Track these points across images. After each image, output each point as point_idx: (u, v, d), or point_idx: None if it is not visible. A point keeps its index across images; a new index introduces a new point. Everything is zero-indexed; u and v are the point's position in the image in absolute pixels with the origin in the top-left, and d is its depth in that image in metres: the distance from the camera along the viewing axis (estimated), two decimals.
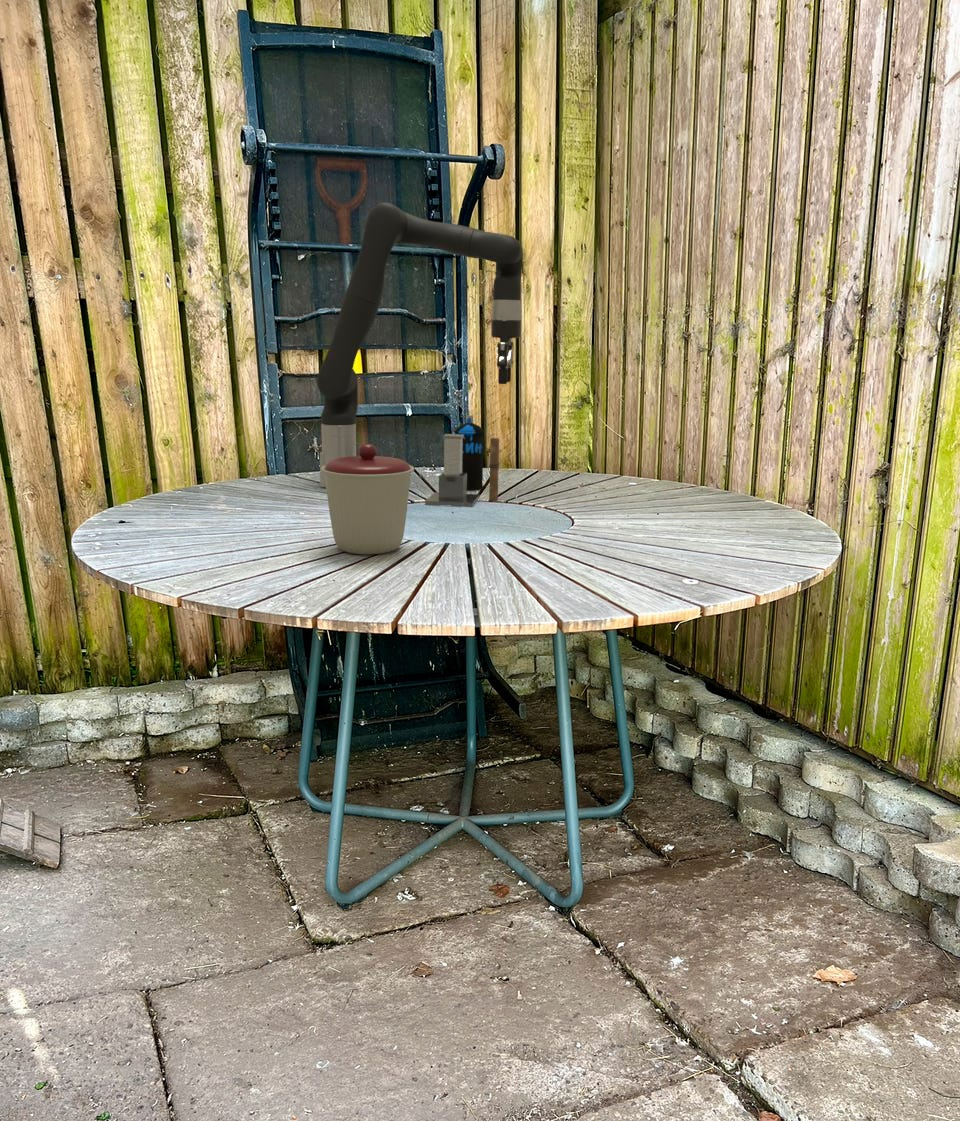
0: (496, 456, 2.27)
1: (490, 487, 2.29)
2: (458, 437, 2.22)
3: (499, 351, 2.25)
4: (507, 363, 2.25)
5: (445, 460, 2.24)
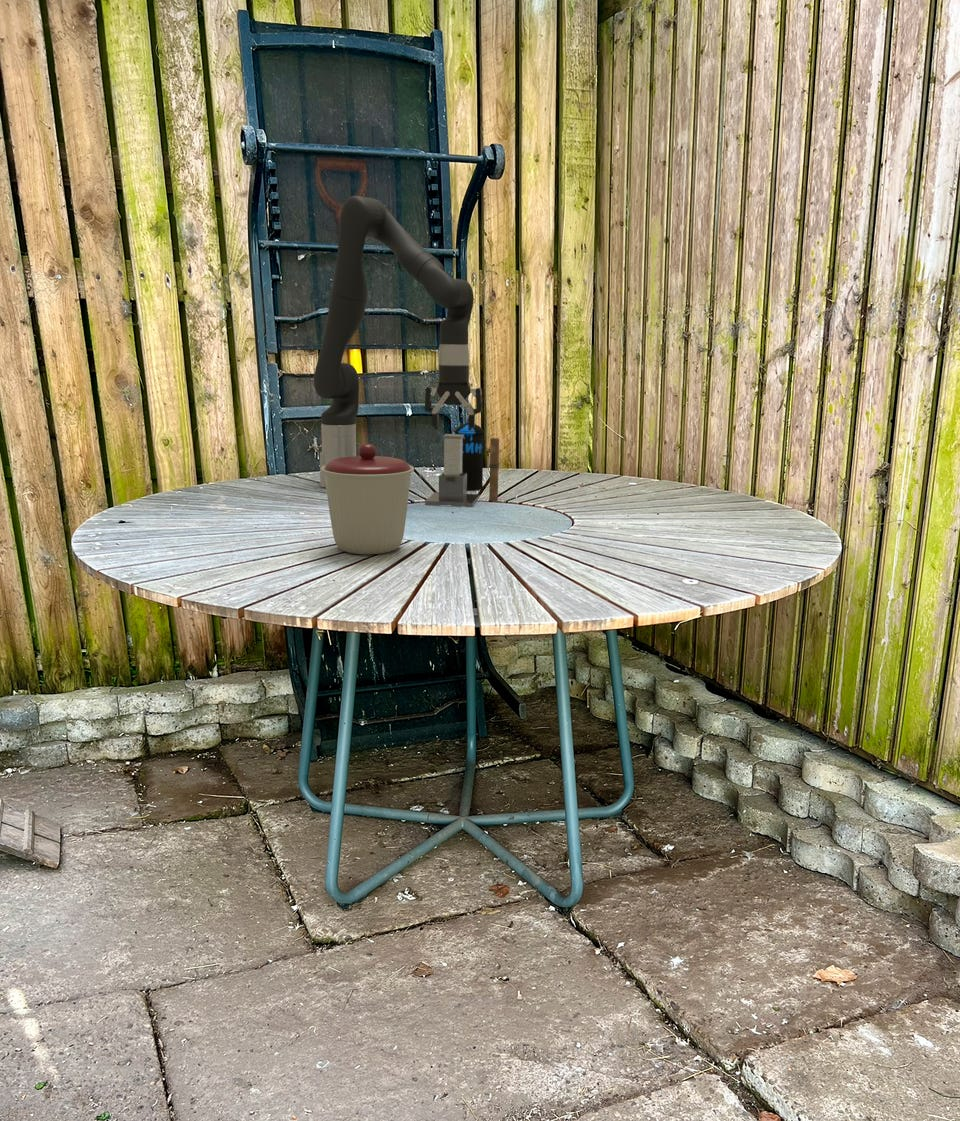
0: (496, 456, 2.27)
1: (490, 487, 2.29)
2: (458, 437, 2.22)
3: (480, 397, 2.20)
4: (480, 408, 2.23)
5: (445, 460, 2.24)
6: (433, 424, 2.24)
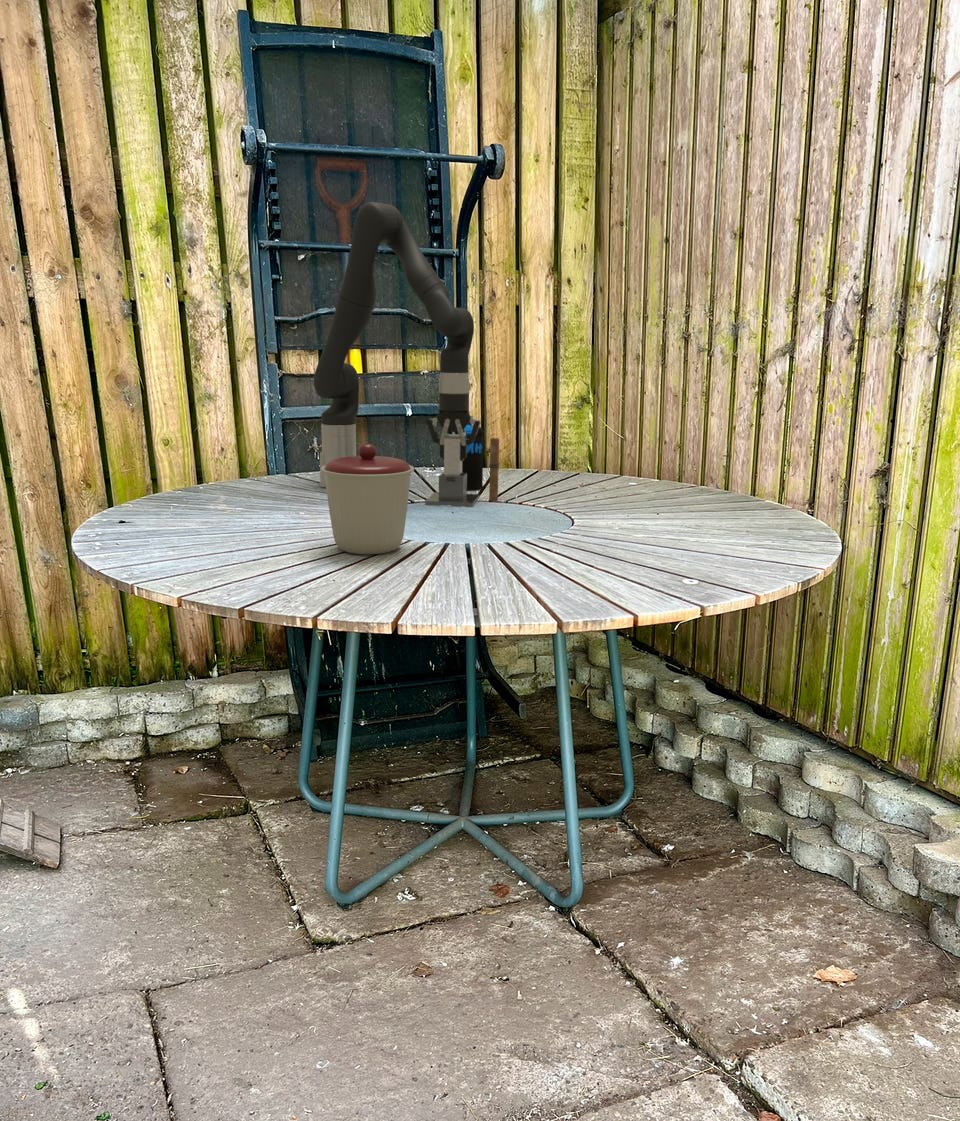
0: (496, 456, 2.27)
1: (490, 487, 2.29)
2: (458, 437, 2.22)
3: (477, 430, 2.23)
4: None
5: (445, 460, 2.24)
6: (441, 455, 2.25)
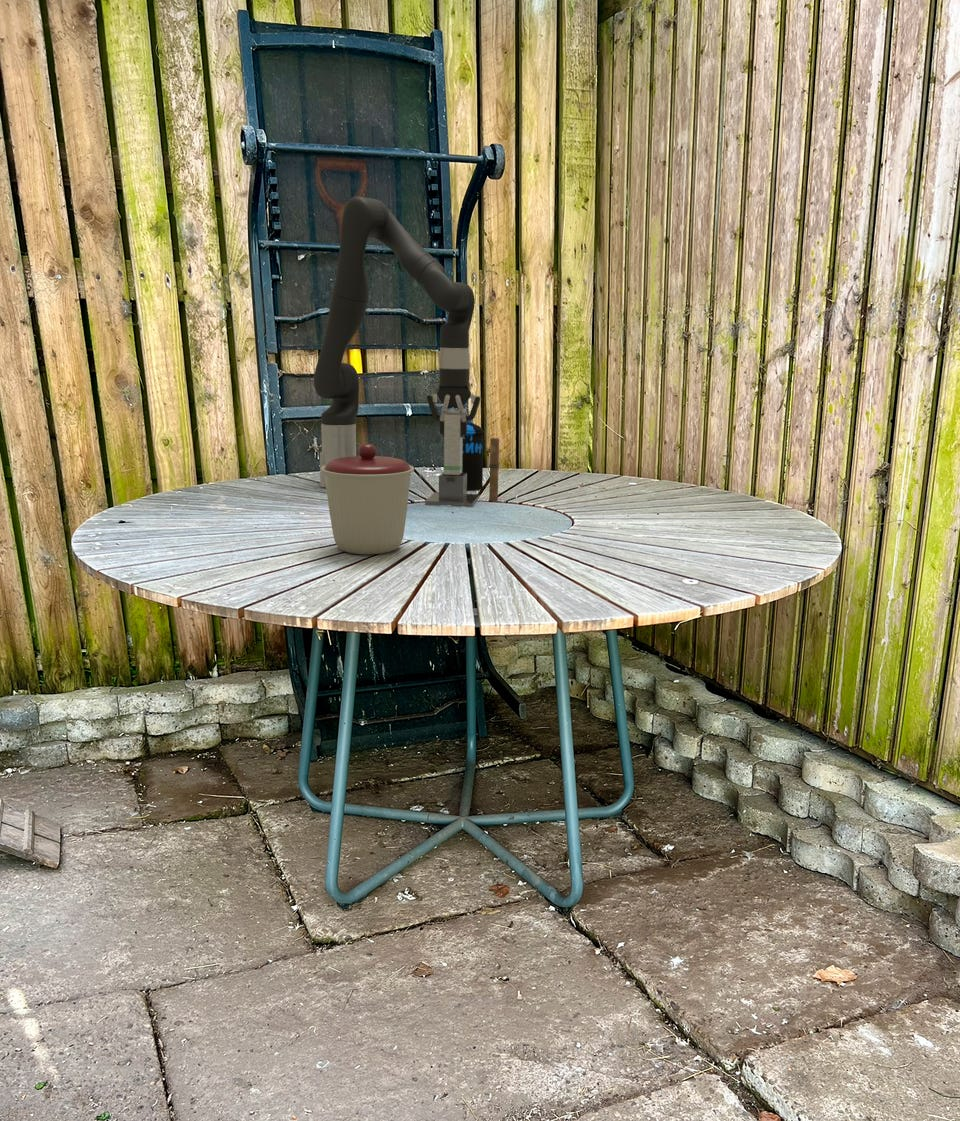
0: (496, 456, 2.27)
1: (490, 487, 2.29)
2: (458, 413, 2.21)
3: (477, 406, 2.21)
4: None
5: (445, 436, 2.23)
6: (441, 431, 2.24)
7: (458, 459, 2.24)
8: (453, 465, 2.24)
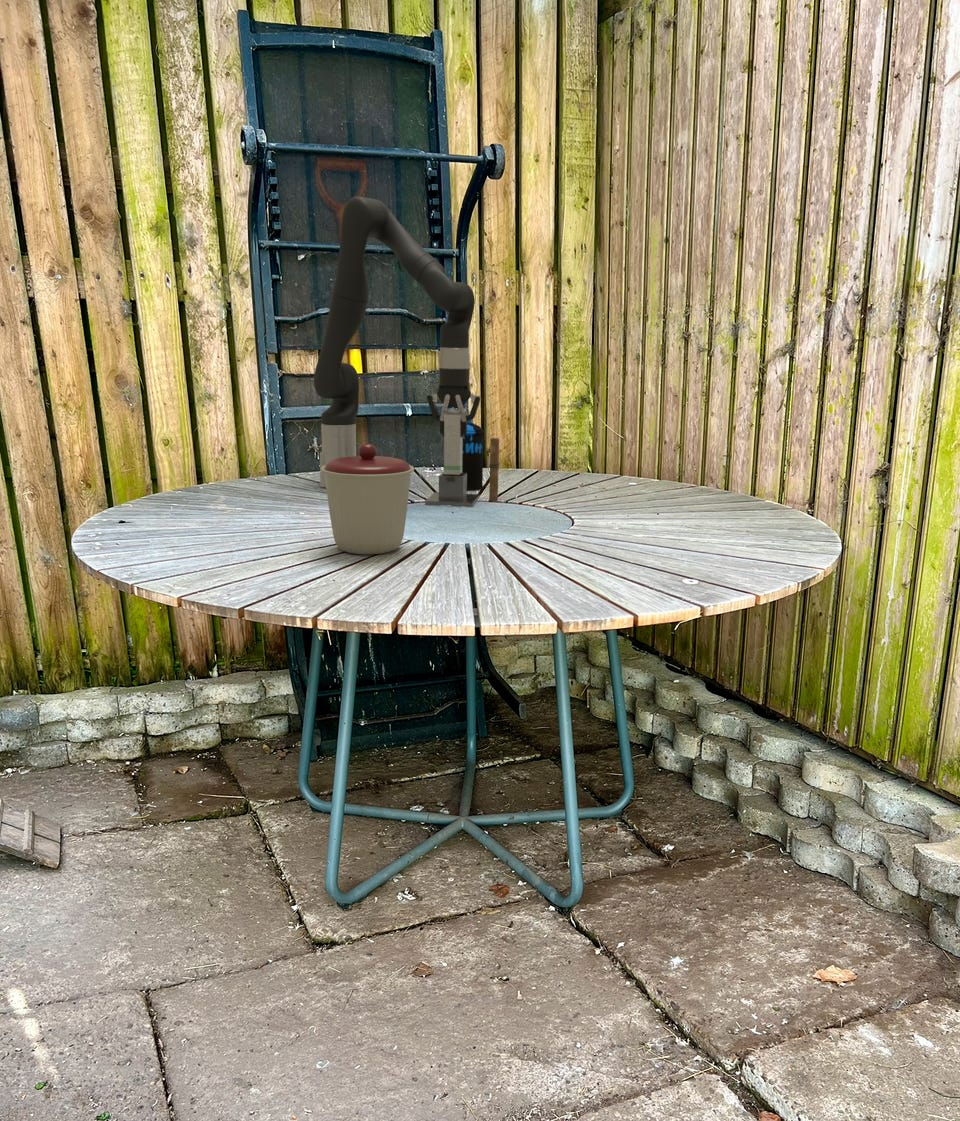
0: (496, 456, 2.27)
1: (490, 487, 2.29)
2: (458, 413, 2.21)
3: (477, 406, 2.21)
4: None
5: (445, 436, 2.23)
6: (441, 431, 2.24)
7: (458, 459, 2.24)
8: (453, 465, 2.24)
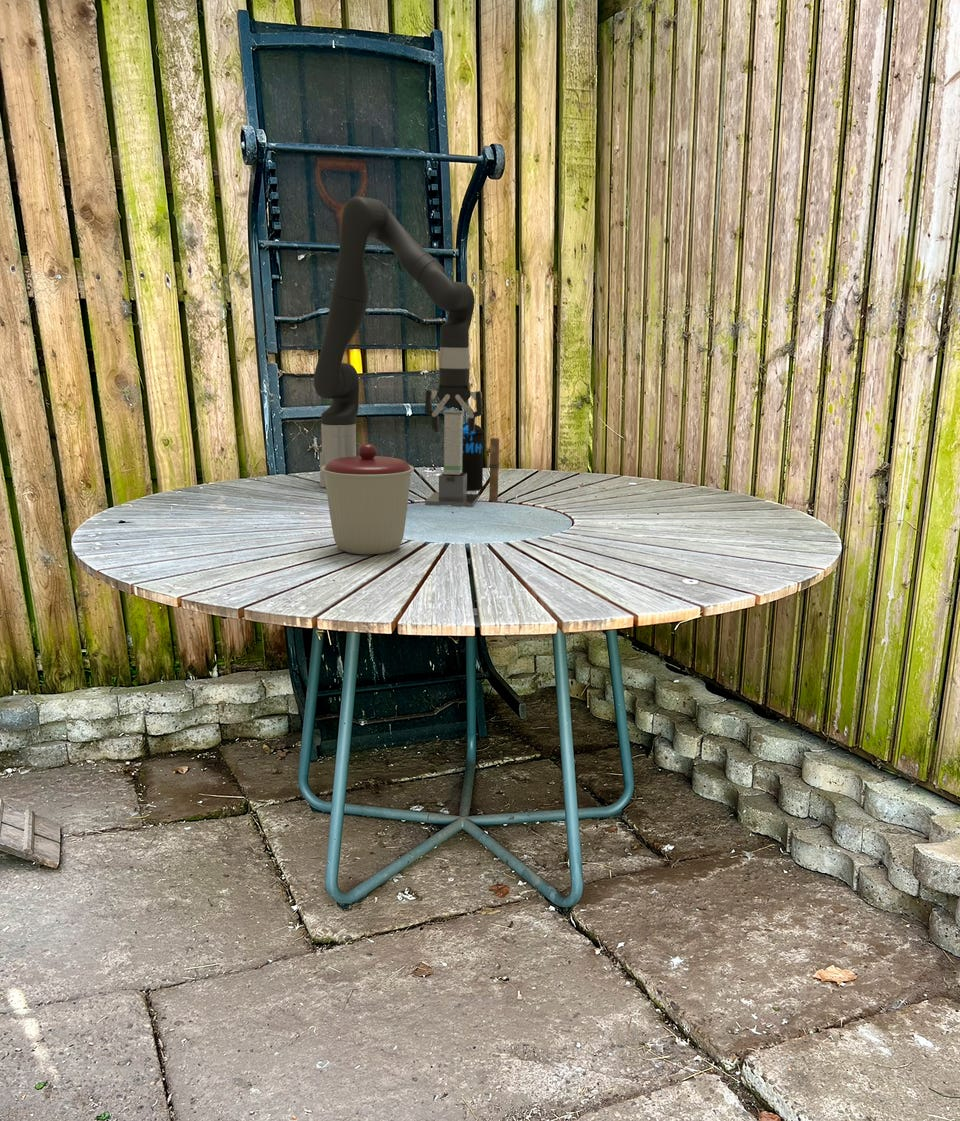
0: (496, 456, 2.27)
1: (490, 487, 2.29)
2: (458, 413, 2.21)
3: (481, 400, 2.21)
4: None
5: (445, 436, 2.23)
6: (433, 427, 2.24)
7: (458, 459, 2.24)
8: (453, 465, 2.24)
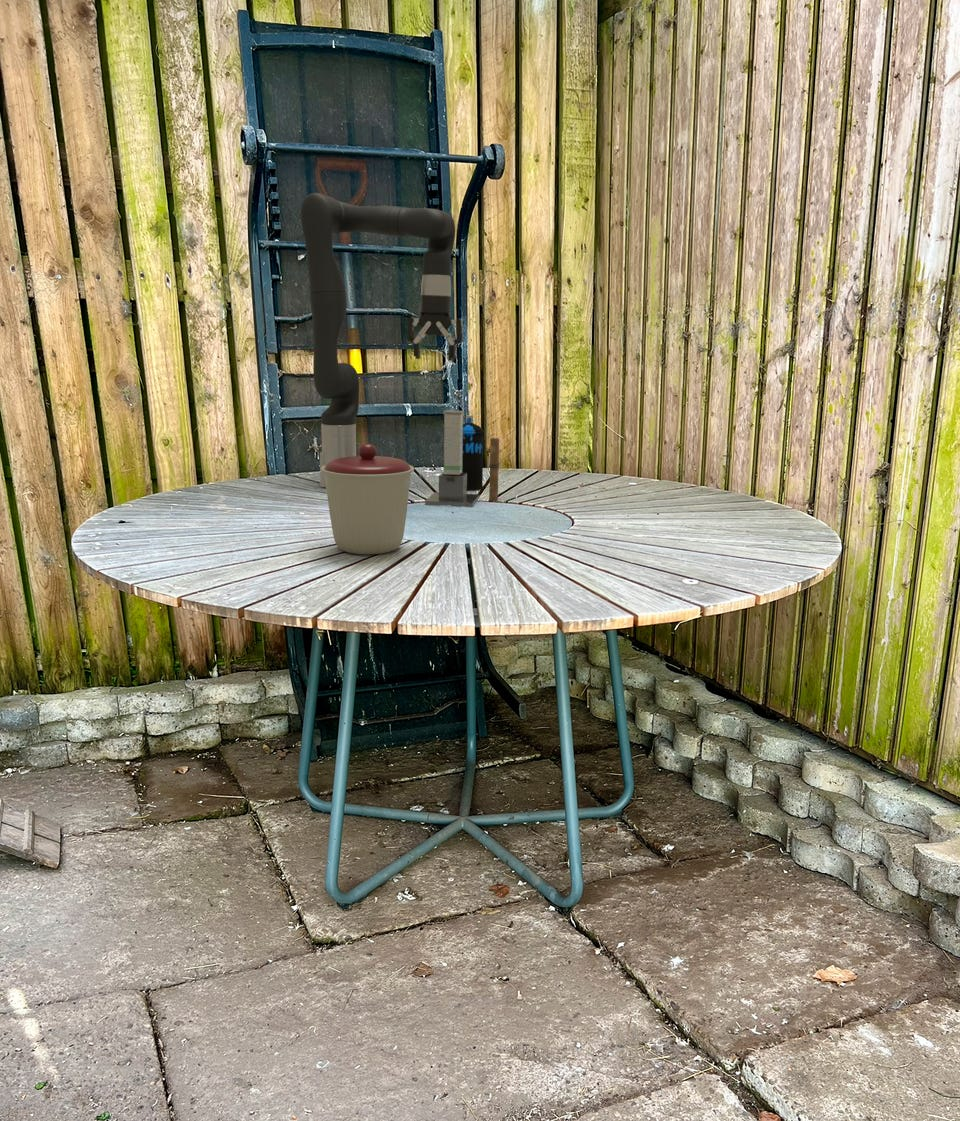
0: (496, 456, 2.27)
1: (490, 487, 2.29)
2: (458, 413, 2.21)
3: (461, 328, 2.27)
4: None
5: (445, 436, 2.23)
6: (414, 354, 2.30)
7: (458, 459, 2.24)
8: (453, 465, 2.24)
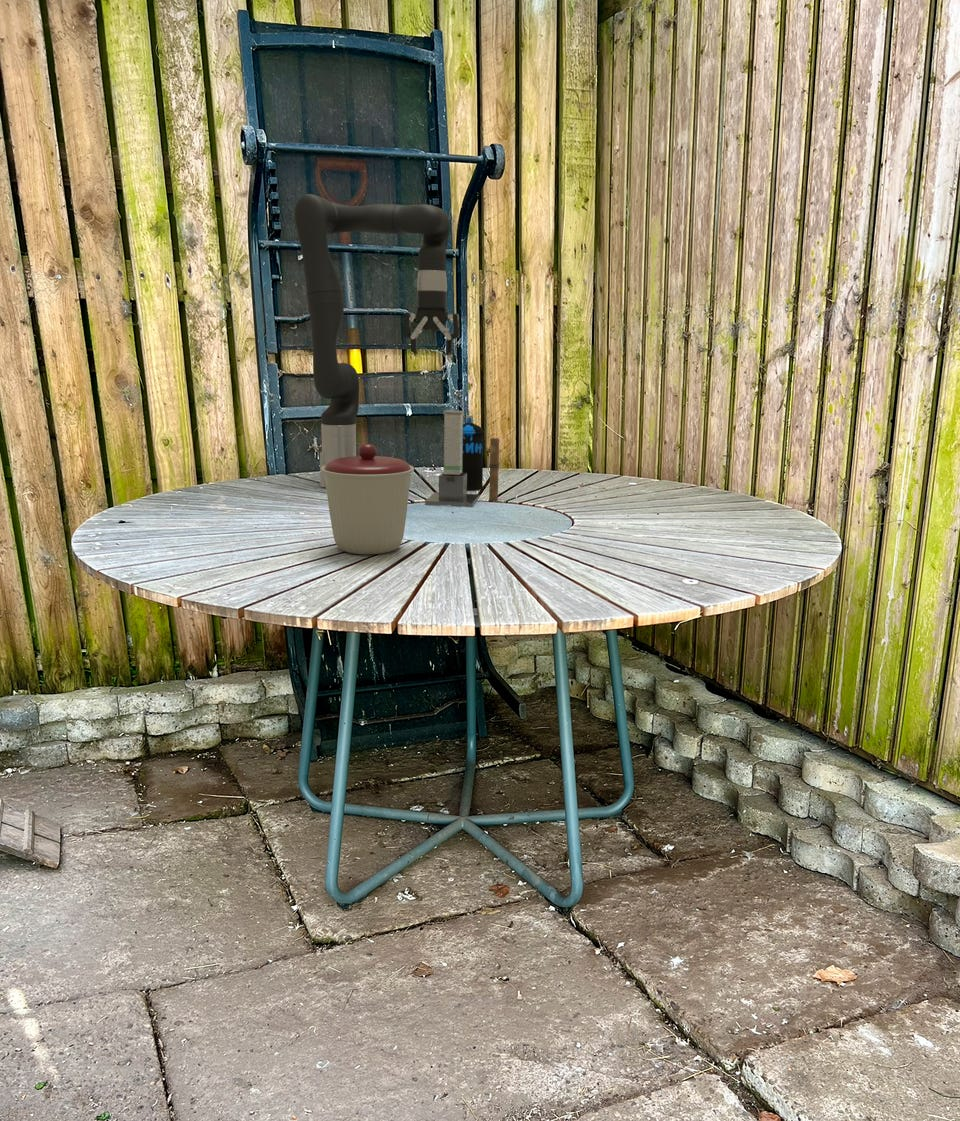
0: (496, 456, 2.27)
1: (490, 487, 2.29)
2: (458, 413, 2.21)
3: (457, 322, 2.28)
4: (458, 334, 2.31)
5: (445, 436, 2.23)
6: (412, 349, 2.32)
7: (458, 459, 2.24)
8: (453, 465, 2.24)
